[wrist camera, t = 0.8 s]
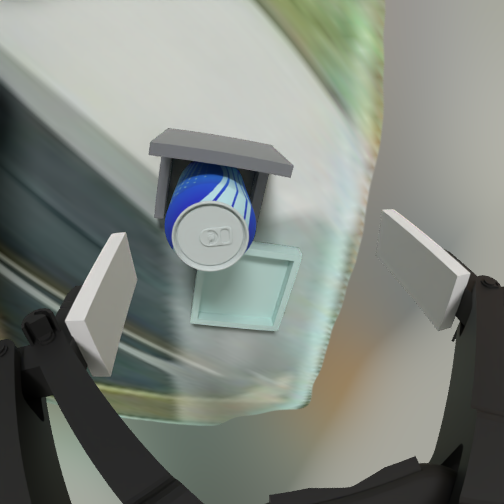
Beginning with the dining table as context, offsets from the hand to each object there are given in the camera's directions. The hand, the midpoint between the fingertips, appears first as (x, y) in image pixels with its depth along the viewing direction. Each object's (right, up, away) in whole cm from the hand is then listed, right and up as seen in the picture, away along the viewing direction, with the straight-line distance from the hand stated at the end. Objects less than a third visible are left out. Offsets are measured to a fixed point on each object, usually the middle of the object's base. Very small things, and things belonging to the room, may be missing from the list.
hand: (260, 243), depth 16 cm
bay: (-6, +9, +25) cm, 27 cm away
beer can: (-6, +8, +25) cm, 27 cm away
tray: (-2, -5, +33) cm, 33 cm away
